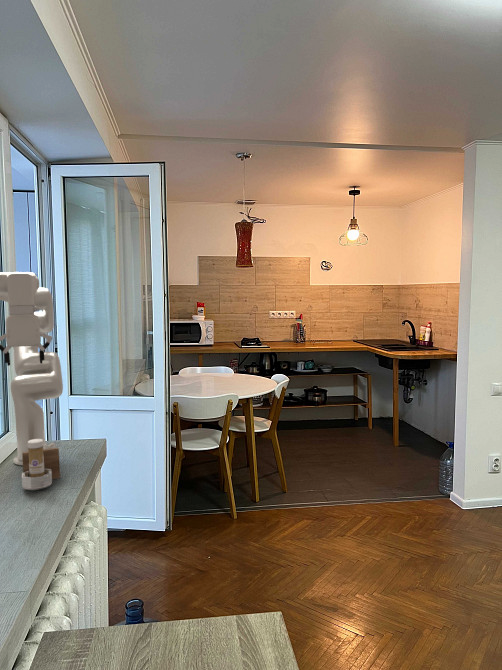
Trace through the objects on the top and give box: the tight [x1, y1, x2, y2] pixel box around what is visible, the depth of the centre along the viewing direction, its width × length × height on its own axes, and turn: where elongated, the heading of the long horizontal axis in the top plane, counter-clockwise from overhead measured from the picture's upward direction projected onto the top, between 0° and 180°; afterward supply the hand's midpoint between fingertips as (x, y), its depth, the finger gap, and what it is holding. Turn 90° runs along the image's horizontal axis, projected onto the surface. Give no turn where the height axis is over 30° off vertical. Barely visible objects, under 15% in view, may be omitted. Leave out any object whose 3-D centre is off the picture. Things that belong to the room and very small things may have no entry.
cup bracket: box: [21, 468, 53, 491], centre depth 166 cm, size 11×9×6 cm
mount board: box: [22, 446, 61, 480], centre depth 174 cm, size 6×11×10 cm, turn 113°
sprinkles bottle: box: [27, 439, 45, 477], centre depth 165 cm, size 5×5×14 cm
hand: (25, 364), depth 170 cm, fingers open, 9 cm apart
